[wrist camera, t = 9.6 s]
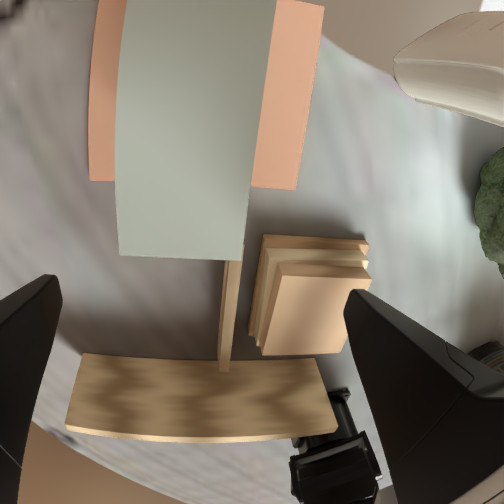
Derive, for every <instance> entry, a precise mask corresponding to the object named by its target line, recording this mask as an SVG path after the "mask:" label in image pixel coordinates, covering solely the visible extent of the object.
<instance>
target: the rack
mask: <svg viewBox="0 0 504 504" xmlns="http://www.w3.org/2000/svg"><path fill="white" fill-rule="evenodd" d="M244 245H245V244H244V241H243V249H242V257H241V261H234V260H225V265H224V276H223V287H222V298H221V310H220V322H219V334H218V346H217V354H218V361H201V360H169V359H150V358H134V357H121V356H110V355H100V354H90V353H83V356H82V359H81V362H80V366H79V369H78V373H77V376H76V380H75V384H74V387H73V391H72V395H71V399H70V403H69V407H68V411H67V415H66V420H65V424H64V425H65V426H66V428H67V429H68V430H69V431H75V432H81V433H87V434H93V435H100V436H108V437H116V438H124V439H135V440H146V441H161V442H186V443H224V442H249V441H265V440H277V439H287V438H296V437H304V436H312V435H319V434H326V433H332V432H335V431H336V429H337V428H338V424H337V421H336V418H335V415H334V412H333V410H332V407H331V404H330V401H329V398H328V395H327V392H326V389H325V387H324V384H323V381H322V378H321V375H320V372H319V370H318V367H317V364H316V361H315V358H304V359H285V360H253V361H230V356H231V348H232V340H233V332H234V324H235V316H236V308H237V300H238V292H239V284H240V276H241V268H242V260H243V252H244Z"/></svg>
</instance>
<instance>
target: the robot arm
mask: <svg viewBox="0 0 504 504" xmlns="http://www.w3.org/2000/svg"><path fill="white" fill-rule="evenodd" d="M62 303H63V299H62V294H61V290H60V285H59V281H58V278H57V276H56V275H49V274H44V275H42V276H40V277H39V278H37V279H35V280H34V281H32V282H30V283H28V284H27V285H25V286H23V287H22V288H20V289H18V290H17V291H15V292H13V293H12V294H10V295H8V296H7V297H5V298H4V299H2V300H0V504H17V500H18V491H19V484H20V476H21V470H22V468H21V467H22V463H23V456H24V452H25V447H26V441H27V437H28V432H29V427H30V423H31V419H32V415H33V411H34V407H35V403H36V399H37V395H38V392H39V388H40V384H41V381H42V378H43V374H44V371H45V368H46V364H47V361H48V358H49V355H50V352H51V349H52V345H53V341H54V337H55V332H56V328H57V324H58V320H59V316H60V312H61V308H62ZM343 317H344V321H345V326H346V330H347V334H348V338H349V342H350V347H351V351H352V355H353V358H354V361H355V364H356V367H357V370H358V373H359V376H360V379H361V382H362V385H363V388H364V391H365V394H366V397H367V400H368V403H369V406H370V409H371V412H372V415H373V418H374V421H375V425H376V428H377V431H378V434H379V437H380V441H381V444H382V447H383V451H384V454H385V457H386V461H387V464H388V468H389V470H390V471H389V472H390V475H391V479H392V483H393V486H394V490H395V493H396V497H397V501H398V504H504V376H503V375H502V374H500V373H498V372H496V371H495V370H493V369H491V368H489V367H488V366H486V365H484V364H482V363H481V362H479V361H477V360H475V359H474V358H472V357H470V356H469V355H467V354H465V353H464V352H462V351H461V350H459V349H457V348H456V347H454V346H453V345H451V344H450V343H448V342H445V340H443V339H442V338H440V337H439V336H437V335H436V334H434V333H433V332H431V331H430V330H428V329H426V328H425V327H423V326H422V325H420V324H419V323H417V322H416V321H414V320H412V319H411V318H409V317H408V316H406V315H405V314H403V313H401V312H400V311H398V310H397V309H395V308H393V307H392V306H390V305H389V304H387V303H386V302H384V301H382V300H381V299H379V298H378V297H376V296H374V295H373V294H371V293H370V292H368V291H366V290H365V289H352V290H351V291H350V293H349V296H348V298H347V301H346V304H345V307H344V310H343ZM327 395H328V398H329V401H330V404H331V407H332V410H333V412H334V415H335V418H336V421H337V424H338V428H337V429H336V431H335V432H332V433H326V434H319V435H312V436H304V437H296V438H291V440H292V444H293V447H294V448H298V450H299V455H296V456H295V455H293V456H290V462H289V467H290V471H291V494H292V495H293V496H295V497H297V499H298V501H299V503H300V504H380V500H381V496H380V491H379V486H378V483H377V481H378V480H380V479H383V478H382V474H381V471H380V467H379V465H378V462H377V459H376V457H375V454H374V452H373V449H372V447H371V444H370V442H369V440H368V437H367V435H366V432H365V430H364V431H362V432H360V433H359V434H358V432H357V429H356V426H355V424H354V421H353V418H352V416H351V413H350V411H349V408H348V405H347V403H346V402H347V400H348V398H349V396H350V395H351V394H350V391H349V390H346V391H339V392H331V393H327Z"/></svg>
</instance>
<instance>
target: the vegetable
mask: <svg viewBox="0 0 504 504" xmlns="http://www.w3.org/2000/svg"><path fill="white" fill-rule="evenodd" d="M479 175H480V177H481V183H482V184H481V186H480V190H479V191H478V192H477V195H476V200H475V208H474V214H475V218H476V224H477V226H478V227H479V229H480V240H481V245H482V249H483V250H484V252H485V255H486V257H488V258H489V260H490V261H495V262H497V263H498V265H499V271H500V272H501V274H502V276H503V279H504V147H503V148H501V149H500V150H498V151H497V152H496V153H495V154H494V155H492V156H491V158H490V162H489V163H487V164H484V166H483V168H482V169H481V172H480V174H479Z"/></svg>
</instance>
